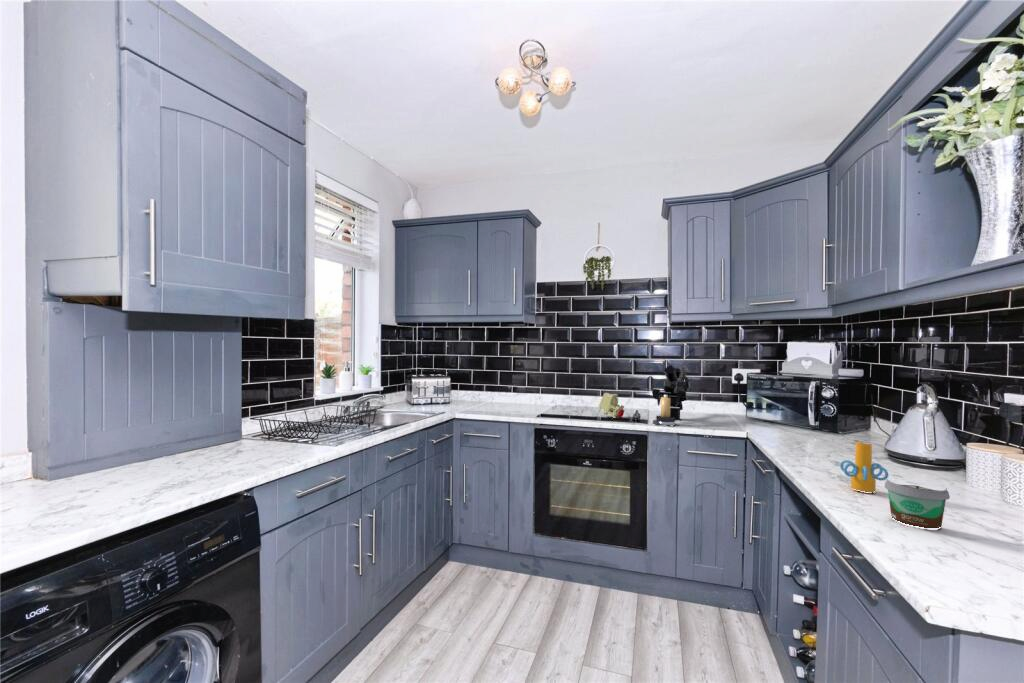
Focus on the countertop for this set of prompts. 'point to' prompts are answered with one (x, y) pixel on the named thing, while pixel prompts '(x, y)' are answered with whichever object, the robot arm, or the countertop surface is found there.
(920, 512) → the food container
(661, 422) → the motor
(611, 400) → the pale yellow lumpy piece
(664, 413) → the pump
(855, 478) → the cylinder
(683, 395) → the robot arm
